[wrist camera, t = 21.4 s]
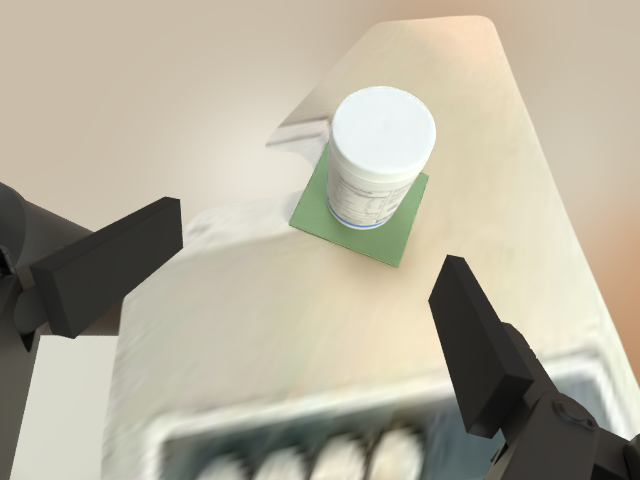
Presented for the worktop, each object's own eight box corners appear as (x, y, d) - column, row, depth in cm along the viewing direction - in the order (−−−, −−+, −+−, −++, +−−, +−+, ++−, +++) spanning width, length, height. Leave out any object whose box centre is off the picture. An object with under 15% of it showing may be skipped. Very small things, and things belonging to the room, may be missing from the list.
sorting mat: (288, 224, 39) (288, 223, 39) (328, 141, 43) (328, 140, 43) (397, 267, 37) (398, 266, 37) (428, 177, 41) (429, 175, 41)
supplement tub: (336, 160, 42) (346, 71, 28) (402, 177, 41) (446, 95, 27) (316, 221, 39) (316, 157, 25) (387, 241, 38) (428, 186, 24)
